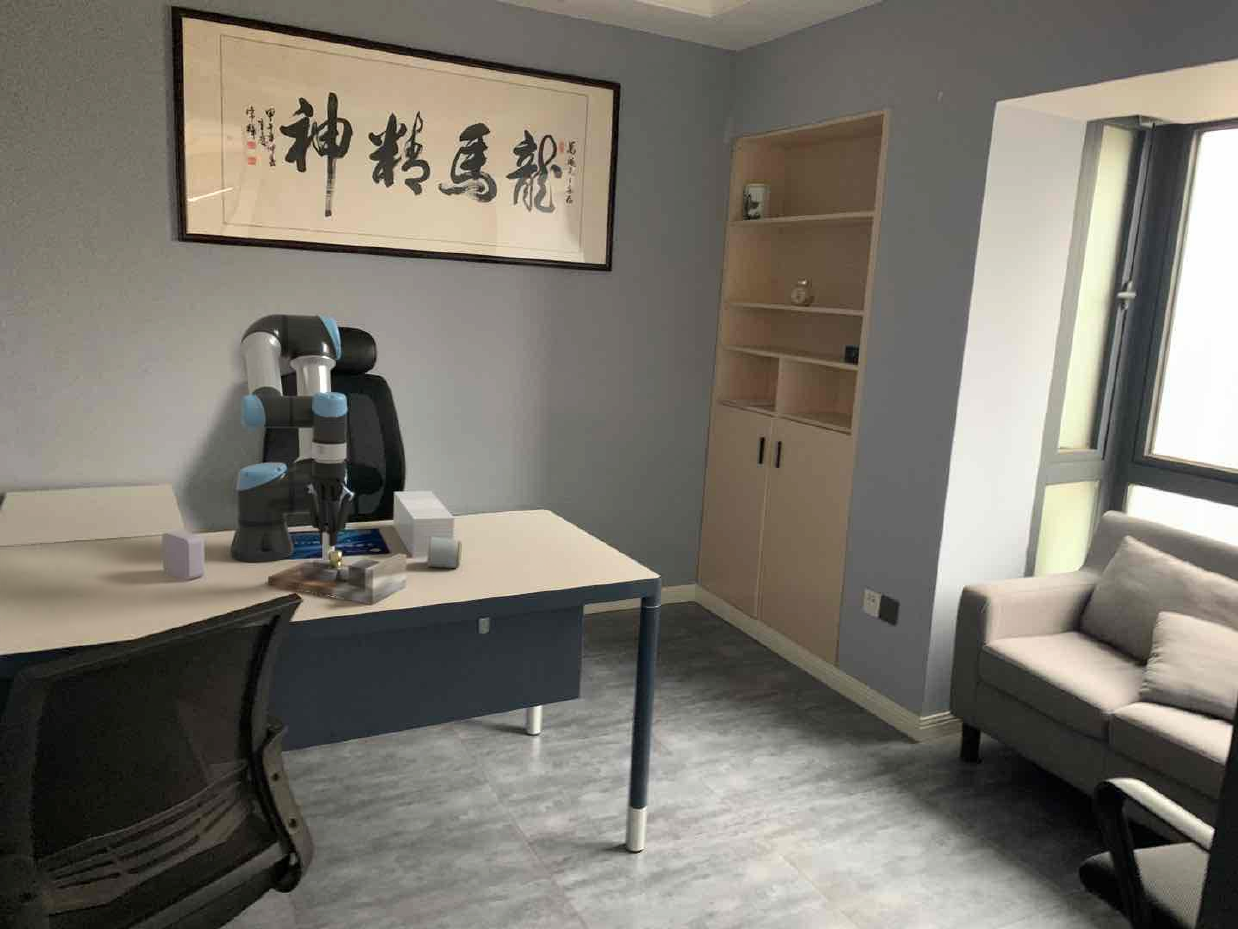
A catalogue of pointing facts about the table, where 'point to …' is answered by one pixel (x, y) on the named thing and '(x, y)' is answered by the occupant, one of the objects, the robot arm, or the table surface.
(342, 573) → the bolt
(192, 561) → the electronic device
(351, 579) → the lock board
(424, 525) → the stack of papers
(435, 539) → the ceramic mug
